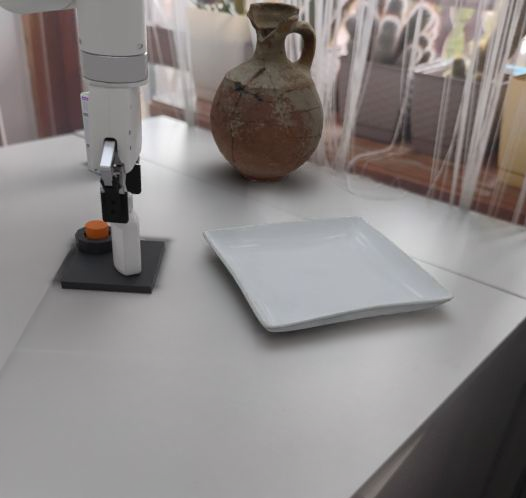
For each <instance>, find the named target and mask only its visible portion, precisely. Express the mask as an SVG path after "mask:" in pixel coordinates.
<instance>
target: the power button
mask: <svg viewBox="0 0 526 498" xmlns="http://www.w3.org/2000/svg"><path fill="white" fill-rule="evenodd" d="M108 226H109V223H108V222H104V221H103V220H99V219H94V220H90V221H87V222H86V223H85V224H84V227H85V230H86V237H87V238H90V239H102V238H106V237H108V236H109V234H108Z"/></svg>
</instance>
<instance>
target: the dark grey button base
mask: <svg viewBox="0 0 526 498" xmlns="http://www.w3.org/2000/svg"><path fill="white" fill-rule="evenodd" d="M108 234H109V236H108V237H106V238H102V239H90V238H87V237H86V230H85V226H83V227H80V228H78V229H77V230H76V232H75V234H74V238H75V246H76V247H77V249H78V250H76V253H75V254H74V256H73V258H72V259H71V262H70V264H69V265H68V267H67V269H66V270H65V272H64V274H63V276H62V278H61V280H60V287H61V289H63V290H77V291H79V290H81V291H94V292H95V291H96V292H112V293H128V294H142V295H143V294H144V295H147V294H148V295H151V294H152V293H153V290H154V287H155V284H156V280H157V276H158V272H159V269H160V266H161V263H162V259H163V256H164V253H165V249H166V242H165V241H164V240H161V241H160V240H148V239H147V240H145V239H140V249H141V272H140V273H139V274H134V275H124V274H122V273H120V272H119V271H118V270H117V269H116V268H115V266H114V261H113V247H112V234H111V225H108Z"/></svg>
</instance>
